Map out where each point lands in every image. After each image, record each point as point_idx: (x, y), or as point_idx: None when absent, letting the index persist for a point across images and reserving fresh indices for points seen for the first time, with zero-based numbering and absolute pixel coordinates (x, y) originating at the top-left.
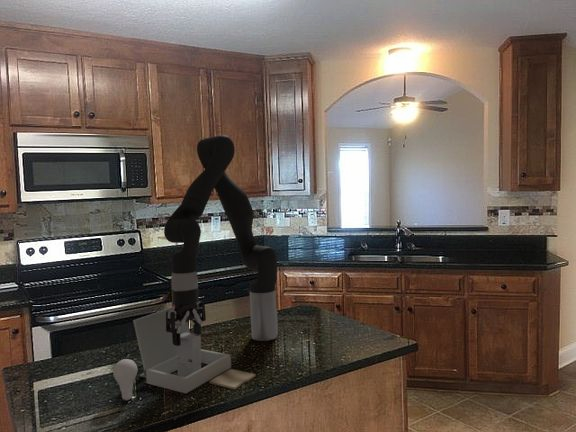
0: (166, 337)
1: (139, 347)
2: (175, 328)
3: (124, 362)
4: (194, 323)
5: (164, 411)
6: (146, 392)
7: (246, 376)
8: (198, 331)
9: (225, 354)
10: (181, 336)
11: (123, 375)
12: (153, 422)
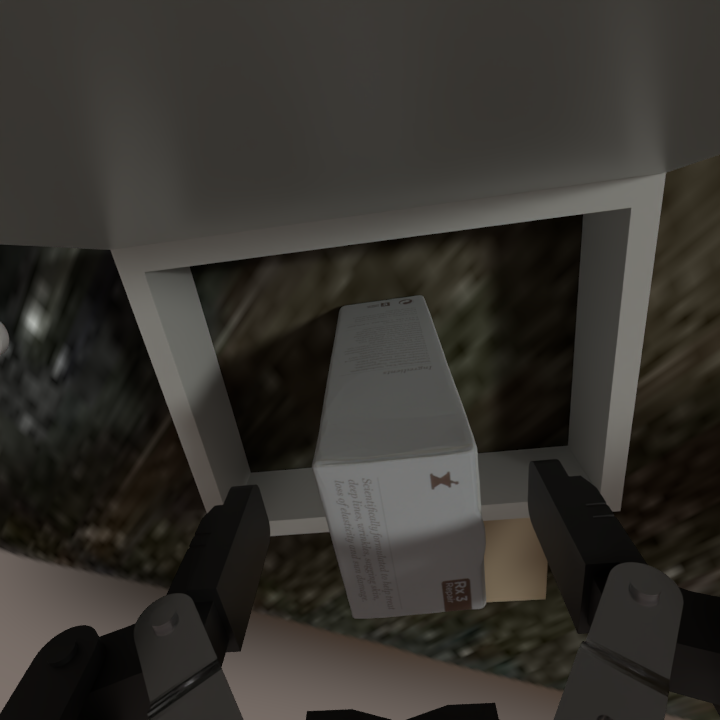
0: (360, 180)
1: None
2: (208, 645)
3: None
4: (608, 583)
5: (95, 526)
6: (107, 334)
7: (504, 586)
8: (549, 561)
9: (613, 485)
10: (340, 512)
11: None
12: (31, 551)
